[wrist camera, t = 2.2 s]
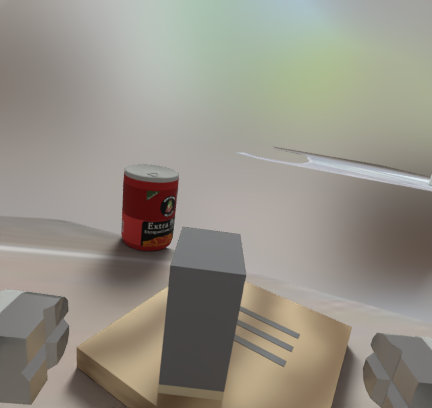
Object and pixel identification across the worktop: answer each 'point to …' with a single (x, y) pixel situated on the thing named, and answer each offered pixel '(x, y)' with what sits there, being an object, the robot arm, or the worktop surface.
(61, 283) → the worktop surface
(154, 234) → the canned food
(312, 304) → the worktop surface
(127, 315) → the oak board
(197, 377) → the block
